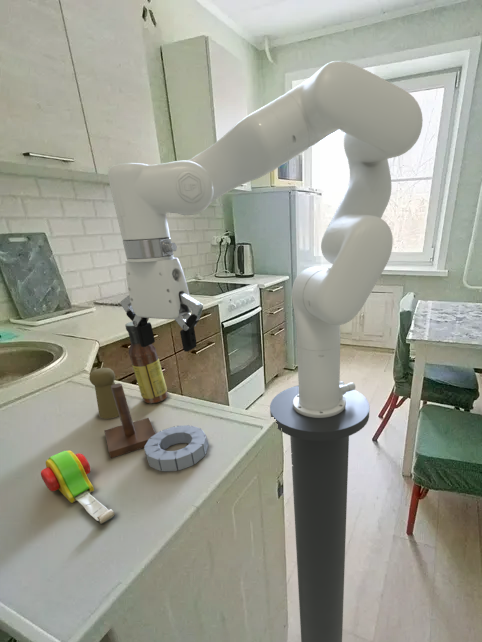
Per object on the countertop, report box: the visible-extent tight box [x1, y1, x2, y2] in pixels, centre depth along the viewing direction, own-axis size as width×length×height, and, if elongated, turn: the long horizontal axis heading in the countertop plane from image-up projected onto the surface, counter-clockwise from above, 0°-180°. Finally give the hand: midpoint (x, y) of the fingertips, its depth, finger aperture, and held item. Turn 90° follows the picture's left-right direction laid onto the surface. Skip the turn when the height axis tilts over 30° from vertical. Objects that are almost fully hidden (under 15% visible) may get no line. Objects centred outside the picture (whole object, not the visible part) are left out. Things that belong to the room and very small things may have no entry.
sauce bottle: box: [124, 321, 169, 404], centre depth 85 cm, size 7×6×20 cm
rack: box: [104, 383, 157, 459], centre depth 70 cm, size 9×9×12 cm
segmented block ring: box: [143, 424, 209, 472], centre depth 68 cm, size 11×11×3 cm
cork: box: [88, 367, 120, 420], centre depth 82 cm, size 6×6×11 cm
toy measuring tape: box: [40, 449, 115, 525], centre depth 57 cm, size 6×19×7 cm, turn 51°
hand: (168, 346), depth 67 cm, fingers open, 9 cm apart
